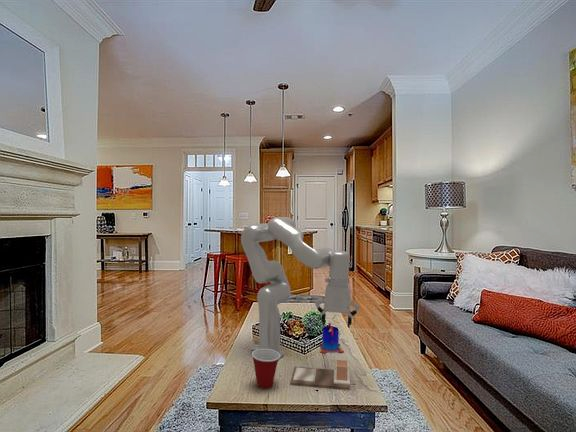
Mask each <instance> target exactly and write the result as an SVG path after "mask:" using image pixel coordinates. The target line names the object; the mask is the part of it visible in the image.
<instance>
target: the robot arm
mask: <svg viewBox="0 0 576 432" xmlns="http://www.w3.org/2000/svg"><path fill="white" fill-rule="evenodd" d="M240 235H241V236H240V243H241V247H242V249H243V251H244V253H245V255H246V258H247V261H248V263H249V267H250V270H251V273H252V276H253V279H254V280H255V282H256V283H258V284H266V283H270V284H267V285H265V286H263V287H261V288H260V289H259V290H258V292H257V294H256V299H257V300H256V301H257V307H258V341H259V342H258V343H257V344H254V343H250V344H249V348H250V350H251V351H255V350H257V349H271V350H275V351H277V352H279V354H280V358H279V359H281V358H283V356H284V351H283V349H281V313H280V310H279V308H278V305H280V304H283V303H286V302H287V301H288V300H289V299H290V298H291V296H292V295H291V294H292V291H291V286H290V283H289V281H288V277H287V275H286V272H285V269H284V267H283V265H282V264H281V263H280V262H279V261H277V260H269V259H268V257H267V255H266V251H265V249H264V248H263V247H262V245H260V243H262V242H270V241H274V240H278V241H280V242H282V243H283V244H284V245H286V246H287V247H289V248H290V250H291V253H292V254H293V256H294V257H295V258H296V260H297V261H298V262H300V263H302V264H303V265H304V266H306V267H308V268H311V270H312V269H313V270H319V269H321V268H327V267H329V270H328V271H329V272H328V278H325V279H324V282H325V283H327V285H326V287H325V292H324V298H322V299H320V300H317V301H316V302H315V303H314V304H315V306H316V310H317V311H318V312H319V313H320V315H321V323H322V325H323V326H325V325H326V315H327V314H326V313H327V312H328V313H337V314H339V313H340V314H347V315H348V316H347V328H351V327H350V326H352V321H353V317H354V316H355V315H357V313H358V312H359V310H360V309H361V307H360V305H359V304H357V303H355V302H354V301H352V299H351V296H352V295H351V288H350V286H349V276H350V275H349V274H350V253H349V252H347V251H344V250H336V249H335V250H334V249H332V248H329V247H321V248H315V249H314V248H313V247H311V246H309V244H307V243H305V242H304V232H303V231H302V230H300V229H299V228H297V227H296V222H295V221H294V219H292V218H291V217H289V216H280V217H279V216H276V217H272V218H271V219H269V220H268V222H266V223H252V224H249V225H247V226H245V228H244V229H242V233H241V234H240ZM322 304H323V307H321V305H322ZM351 307H353V308H354V310H352V311H351Z"/></svg>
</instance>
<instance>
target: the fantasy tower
mask: <svg viewBox="0 0 576 432" xmlns="http://www.w3.org/2000/svg"><path fill="white" fill-rule="evenodd" d="M339 333H340V332H339V328H338V327H337V326H333V325H332V323H331V322H330V323H328V325H327V326H324V327H322V342H321V343H322V344H320V345H319V346H320V351H319V353H320V354H323V355H325V354H335V353H336V354H344V353H345V351H344V350H343V349H341V348H340V346H341V344H340V343H339ZM321 345H322V346H321ZM319 346H318V347H319Z"/></svg>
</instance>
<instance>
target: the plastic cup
mask: <svg viewBox="0 0 576 432" xmlns="http://www.w3.org/2000/svg"><path fill="white" fill-rule="evenodd" d="M251 356H252V360H253V367H254V372H255V378H256V384H257V387H258V388H259V389H262V390H263V389H264V390H265V389H266V390H267V389H270V388H272V387H273V385H274V381H275V376H276V370H277V365H278V362H279V358H280V354H279V352H277V351H275V350H271V349H257V350H252V351H251ZM280 359H281V358H280Z"/></svg>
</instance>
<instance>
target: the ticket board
mask: <svg viewBox="0 0 576 432" xmlns="http://www.w3.org/2000/svg"><path fill="white" fill-rule="evenodd" d="M334 370H335V369H331V368H330V369H328V368H319V367H303V366H294V368H293V371H292V375H291V377H290V382H289V385H290V386H298V387H310V388H323V389H333V390H343V391H345V390H346V391H350V385H343V384H334Z"/></svg>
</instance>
